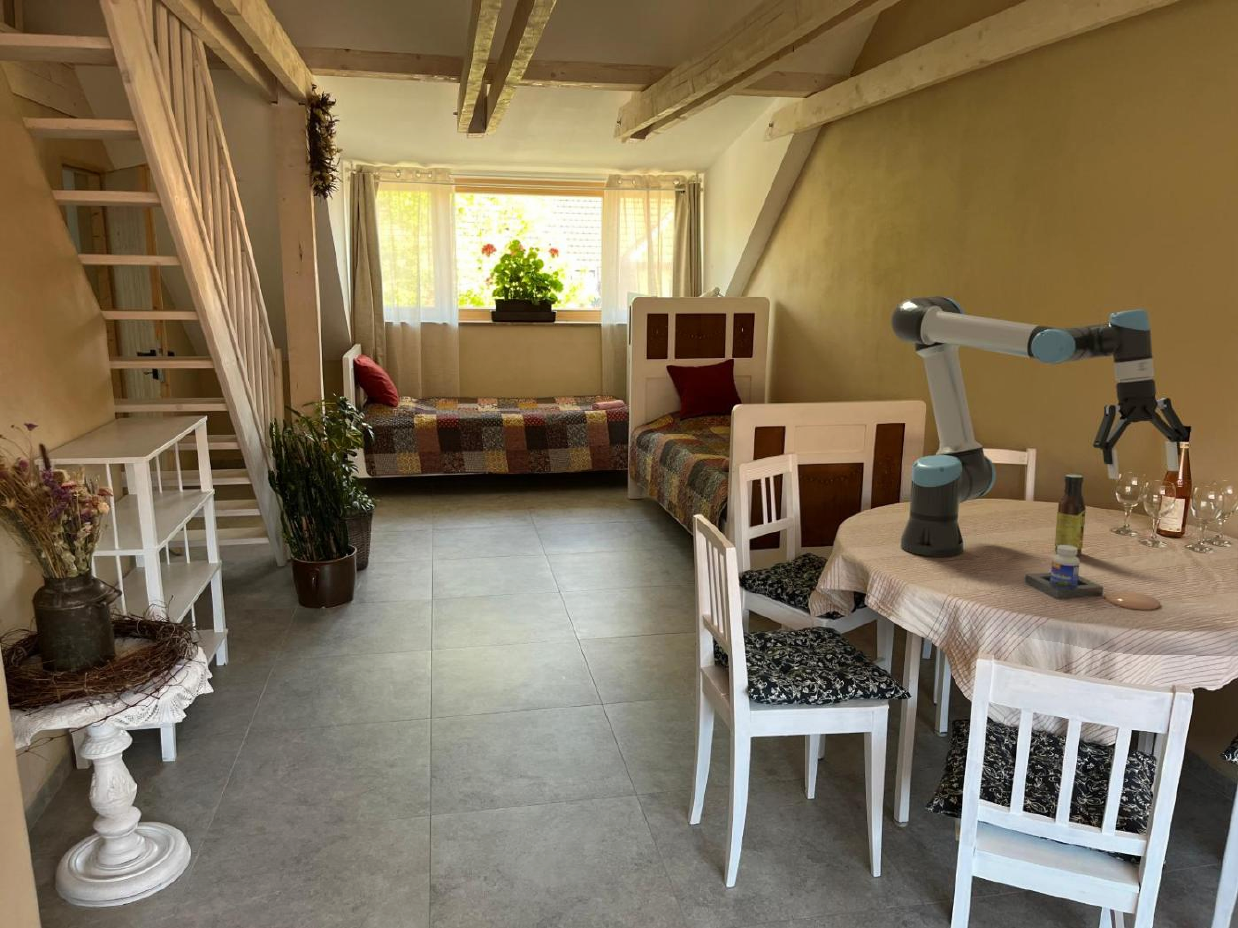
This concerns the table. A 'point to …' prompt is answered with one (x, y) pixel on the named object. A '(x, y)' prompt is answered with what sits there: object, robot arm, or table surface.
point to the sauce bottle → (1071, 514)
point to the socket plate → (1079, 591)
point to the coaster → (1132, 600)
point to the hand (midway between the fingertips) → (1143, 474)
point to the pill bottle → (1065, 566)
